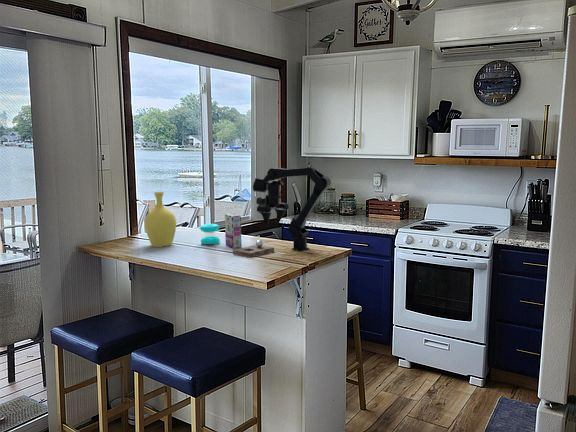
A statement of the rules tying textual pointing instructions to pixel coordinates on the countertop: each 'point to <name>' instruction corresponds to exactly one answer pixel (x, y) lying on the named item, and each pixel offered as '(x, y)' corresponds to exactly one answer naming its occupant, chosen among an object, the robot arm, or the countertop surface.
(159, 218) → the vase
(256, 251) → the walnut plate
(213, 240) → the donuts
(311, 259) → the countertop surface
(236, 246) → the candy bar box
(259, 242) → the steel ball
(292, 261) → the countertop surface
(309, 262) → the countertop surface
